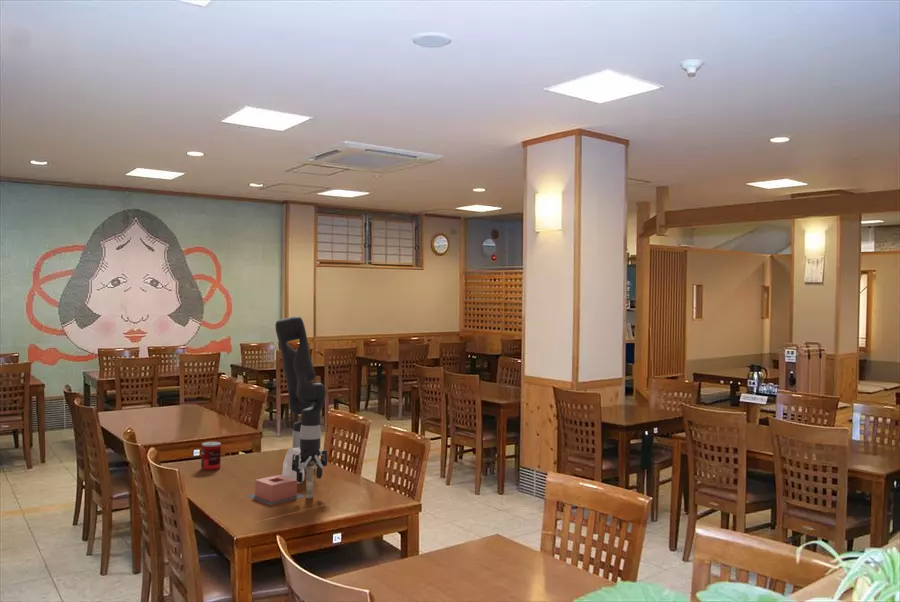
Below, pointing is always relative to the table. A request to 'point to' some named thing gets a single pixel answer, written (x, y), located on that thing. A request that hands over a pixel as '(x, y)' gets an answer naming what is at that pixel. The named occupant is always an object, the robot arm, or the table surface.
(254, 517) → the table surface
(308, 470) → the grey beige cylinder
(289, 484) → the pink square peg base
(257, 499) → the mat
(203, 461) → the canned food
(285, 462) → the cat figurine
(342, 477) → the table surface
